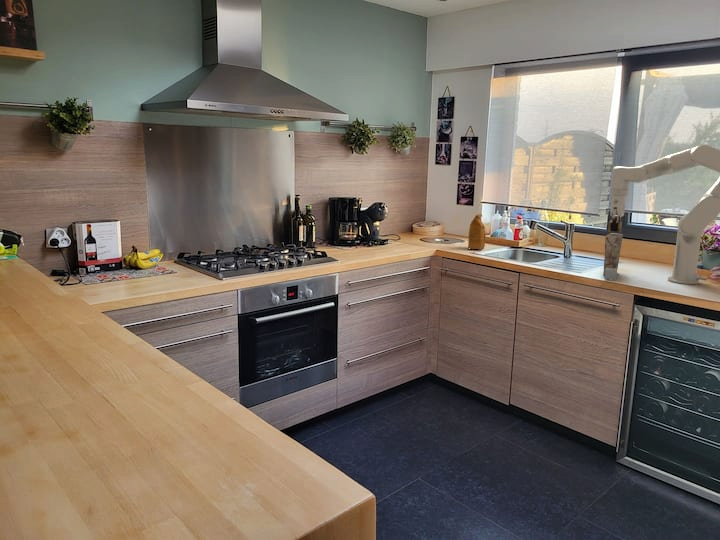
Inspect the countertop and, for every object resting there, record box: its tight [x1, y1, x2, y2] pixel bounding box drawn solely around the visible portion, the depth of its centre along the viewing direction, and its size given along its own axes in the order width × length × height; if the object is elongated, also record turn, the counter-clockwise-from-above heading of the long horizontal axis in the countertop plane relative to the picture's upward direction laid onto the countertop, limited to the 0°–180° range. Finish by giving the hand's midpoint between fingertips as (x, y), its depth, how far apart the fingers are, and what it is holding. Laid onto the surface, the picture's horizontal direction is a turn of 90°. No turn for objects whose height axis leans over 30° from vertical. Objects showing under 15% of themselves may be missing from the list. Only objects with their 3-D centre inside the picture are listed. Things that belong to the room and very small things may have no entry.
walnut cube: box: [607, 220, 623, 233], centre depth 267 cm, size 5×5×5 cm
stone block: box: [603, 232, 624, 276], centre depth 269 cm, size 13×7×20 cm, turn 153°
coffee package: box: [467, 213, 487, 251], centre depth 343 cm, size 10×12×22 cm
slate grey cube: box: [603, 268, 618, 281], centre depth 260 cm, size 5×5×5 cm
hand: (614, 230), depth 267 cm, fingers closed on walnut cube, 5 cm apart
